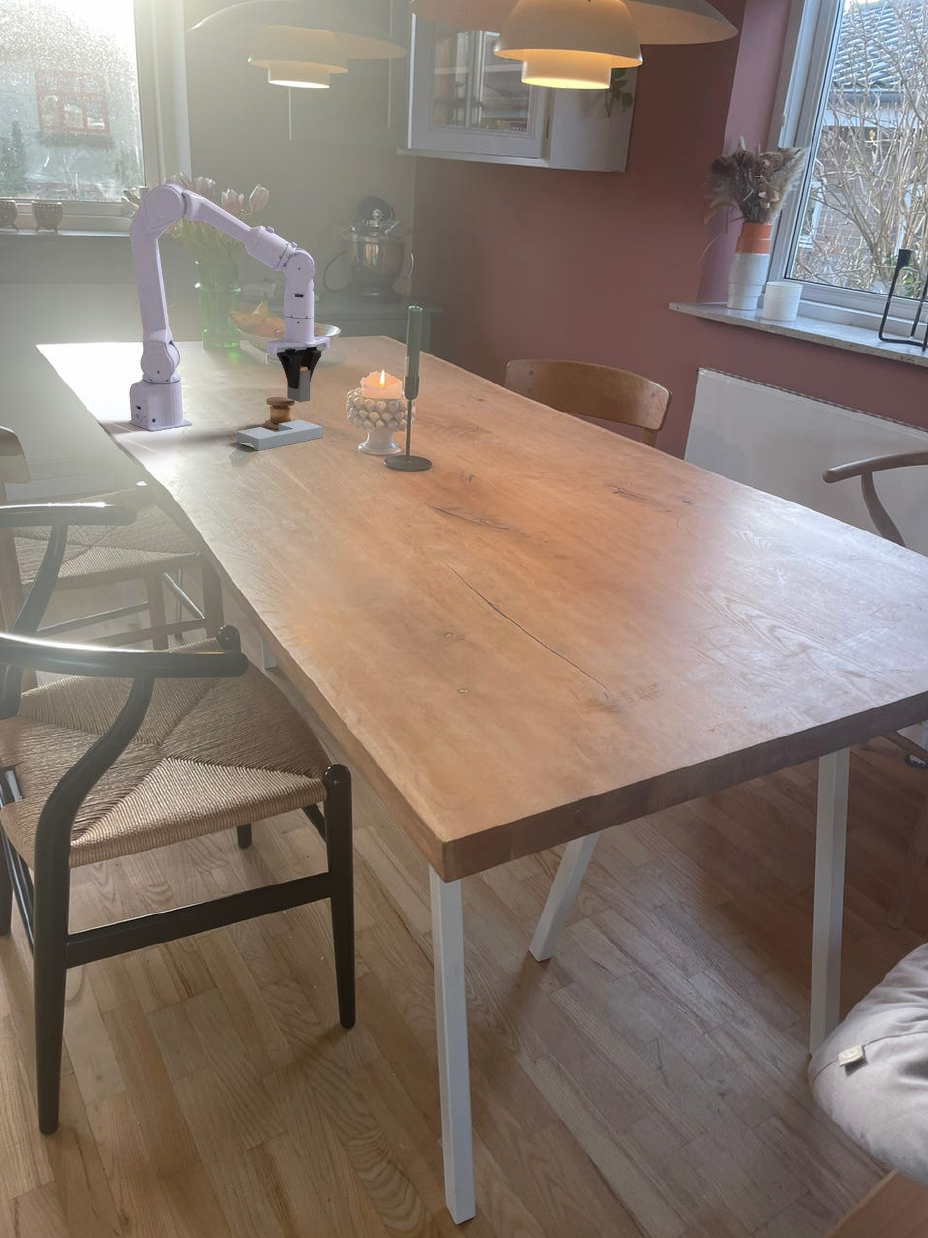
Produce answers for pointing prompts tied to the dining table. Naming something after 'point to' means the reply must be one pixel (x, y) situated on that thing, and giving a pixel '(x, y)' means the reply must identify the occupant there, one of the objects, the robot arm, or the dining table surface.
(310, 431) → the board
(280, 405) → the tan wooden yo-yo
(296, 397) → the grey rectangular block
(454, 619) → the dining table surface
